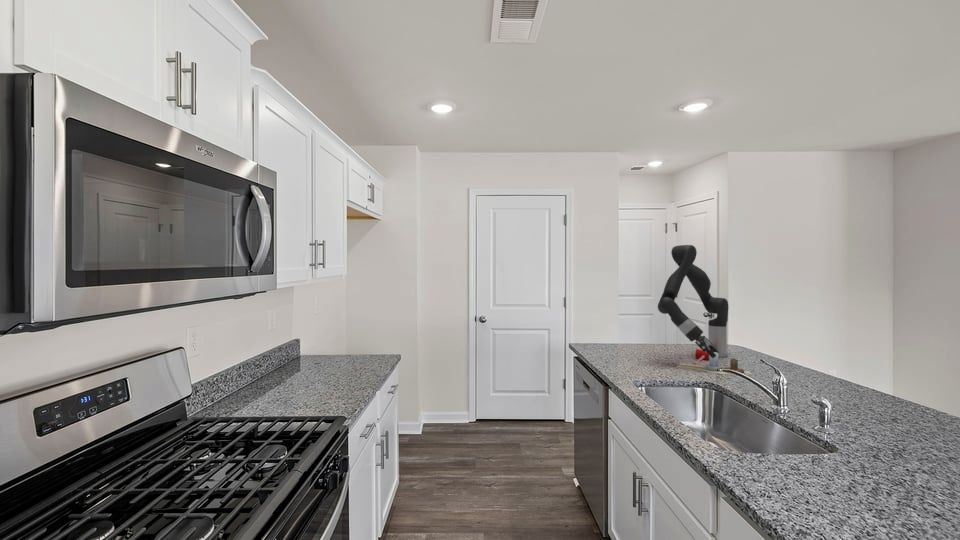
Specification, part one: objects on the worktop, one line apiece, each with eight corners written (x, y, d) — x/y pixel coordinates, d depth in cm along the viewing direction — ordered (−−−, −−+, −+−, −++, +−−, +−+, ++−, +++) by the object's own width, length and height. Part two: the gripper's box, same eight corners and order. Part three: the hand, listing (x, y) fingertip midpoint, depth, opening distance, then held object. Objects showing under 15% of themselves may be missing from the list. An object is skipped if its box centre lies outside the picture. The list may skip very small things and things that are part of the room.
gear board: (680, 365, 228) (680, 362, 228) (750, 373, 210) (750, 370, 210) (674, 370, 218) (674, 367, 218) (747, 379, 200) (747, 376, 200)
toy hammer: (706, 369, 221) (706, 356, 221) (681, 365, 229) (681, 353, 229) (718, 361, 238) (718, 350, 238) (695, 358, 246) (695, 347, 245)
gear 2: (725, 369, 214) (725, 355, 214) (744, 371, 209) (745, 358, 209) (723, 372, 208) (723, 358, 208) (743, 375, 203) (743, 361, 203)
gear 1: (707, 366, 218) (707, 350, 218) (722, 368, 214) (722, 352, 214) (704, 369, 213) (704, 353, 212) (720, 371, 209) (720, 354, 208)
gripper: (693, 326, 212) (720, 353, 205) (698, 323, 223) (724, 348, 217) (681, 336, 215) (707, 362, 209) (687, 332, 227) (712, 357, 220)
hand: (716, 355), depth 213 cm, fingers open, 8 cm apart
